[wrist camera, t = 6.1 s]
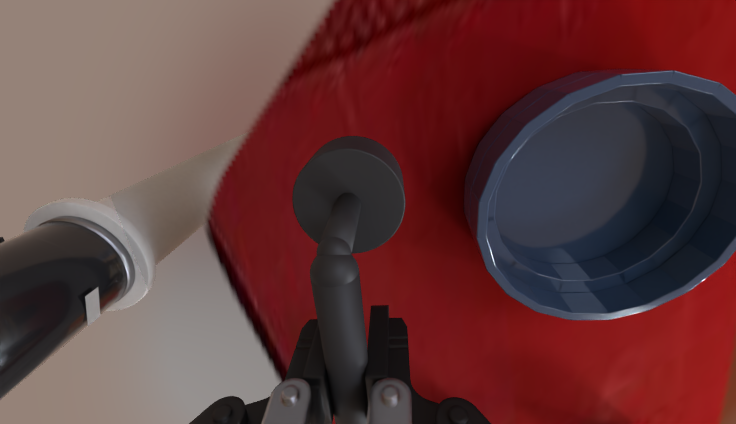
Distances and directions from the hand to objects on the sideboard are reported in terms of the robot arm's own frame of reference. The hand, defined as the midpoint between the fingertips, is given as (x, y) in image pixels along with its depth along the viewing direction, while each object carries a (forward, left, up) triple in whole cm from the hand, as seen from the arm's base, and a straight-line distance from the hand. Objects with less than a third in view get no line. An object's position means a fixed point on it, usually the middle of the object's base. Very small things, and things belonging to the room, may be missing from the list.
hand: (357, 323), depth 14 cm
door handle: (0, 0, -3) cm, 3 cm away
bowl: (+14, +1, -13) cm, 19 cm away
